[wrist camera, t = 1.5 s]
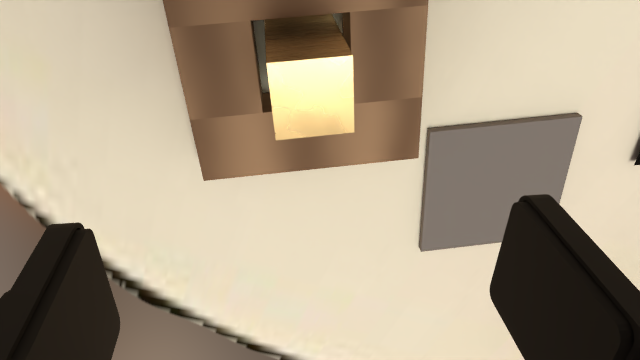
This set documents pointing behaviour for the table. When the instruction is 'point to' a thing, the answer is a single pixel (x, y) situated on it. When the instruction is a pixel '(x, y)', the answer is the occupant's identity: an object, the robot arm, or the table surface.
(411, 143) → the socket block
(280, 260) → the table surface
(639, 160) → the red board with handle
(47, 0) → the table surface
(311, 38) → the wooden block
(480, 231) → the rubber mat
